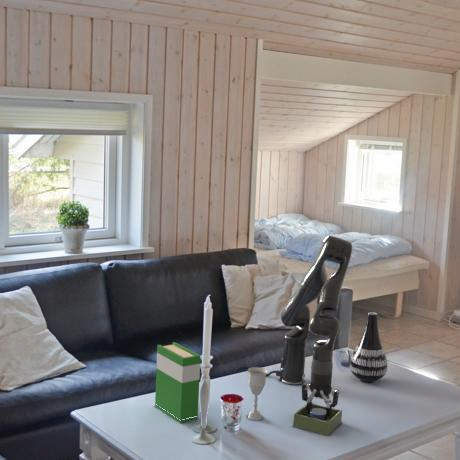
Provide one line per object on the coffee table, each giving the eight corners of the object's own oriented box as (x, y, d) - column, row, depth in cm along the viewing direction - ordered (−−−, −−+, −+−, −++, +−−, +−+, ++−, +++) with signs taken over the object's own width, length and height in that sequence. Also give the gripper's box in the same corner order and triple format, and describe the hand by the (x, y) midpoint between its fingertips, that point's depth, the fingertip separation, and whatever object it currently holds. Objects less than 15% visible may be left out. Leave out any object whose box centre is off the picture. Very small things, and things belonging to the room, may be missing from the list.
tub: (293, 426, 281) (293, 414, 280) (307, 414, 293) (308, 402, 292) (327, 435, 275) (328, 422, 274) (341, 422, 287) (342, 410, 286)
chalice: (267, 415, 290) (269, 369, 287) (261, 422, 283) (264, 375, 280) (248, 412, 292) (251, 366, 289) (242, 418, 286) (244, 371, 283)
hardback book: (155, 406, 293) (157, 344, 289) (171, 402, 297) (174, 342, 293) (180, 423, 279) (183, 358, 275) (197, 419, 283) (200, 355, 279)
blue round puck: (306, 418, 282) (307, 412, 282) (313, 412, 288) (314, 406, 287) (323, 422, 279) (323, 416, 279) (329, 416, 285) (330, 410, 284)
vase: (389, 388, 325) (395, 319, 320) (350, 385, 325) (356, 317, 321) (383, 375, 341) (388, 309, 336) (346, 372, 341) (351, 307, 336)
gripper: (344, 371, 281) (340, 415, 283) (307, 363, 287) (304, 406, 290) (336, 377, 274) (333, 422, 277) (299, 369, 280) (296, 413, 283)
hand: (318, 414), depth 283 cm, fingers closed on blue round puck, 6 cm apart
